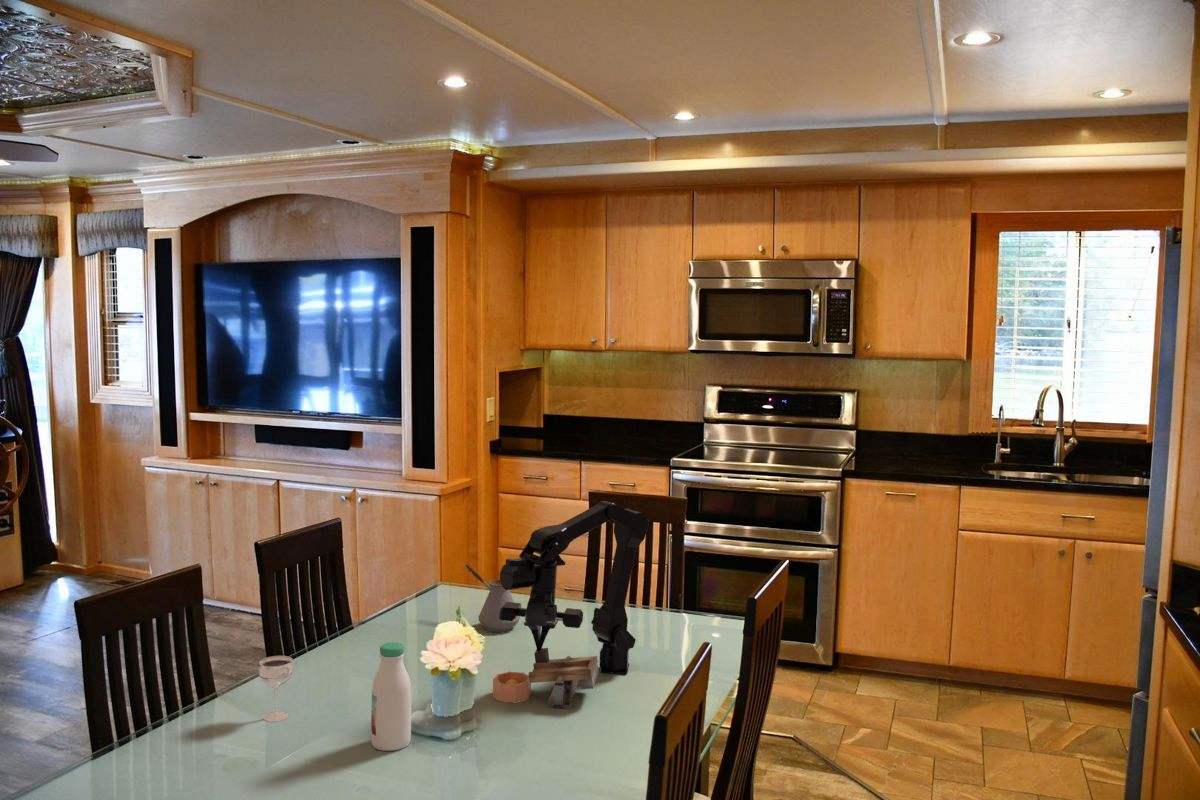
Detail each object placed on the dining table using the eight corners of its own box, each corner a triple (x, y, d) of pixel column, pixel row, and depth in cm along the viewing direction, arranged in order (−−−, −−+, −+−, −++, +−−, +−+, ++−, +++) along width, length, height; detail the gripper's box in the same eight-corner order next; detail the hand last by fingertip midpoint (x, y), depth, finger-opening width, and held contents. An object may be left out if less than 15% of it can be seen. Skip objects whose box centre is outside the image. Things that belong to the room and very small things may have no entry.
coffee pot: (528, 628, 255) (529, 575, 254) (496, 637, 247) (497, 582, 246) (480, 610, 270) (480, 560, 269) (448, 618, 262) (449, 567, 261)
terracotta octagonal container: (532, 689, 211) (533, 672, 211) (525, 703, 203) (526, 686, 203) (498, 687, 212) (498, 670, 212) (490, 701, 204) (490, 683, 204)
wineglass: (261, 725, 189) (261, 669, 188) (256, 713, 195) (256, 658, 194) (295, 720, 192) (295, 664, 191) (290, 708, 198) (290, 653, 197)
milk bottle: (418, 738, 185) (419, 641, 183) (397, 754, 178) (398, 654, 176) (385, 732, 187) (385, 636, 186) (363, 748, 180) (363, 648, 179)
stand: (578, 683, 216) (579, 662, 216) (569, 709, 201) (569, 686, 201) (558, 681, 217) (558, 660, 216) (547, 707, 202) (547, 684, 201)
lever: (599, 668, 215) (596, 641, 214) (592, 692, 201) (588, 662, 200) (541, 672, 216) (537, 645, 216) (529, 696, 202) (526, 667, 202)
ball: (505, 687, 210) (518, 692, 209) (502, 693, 206) (515, 698, 206) (509, 675, 209) (522, 679, 209) (506, 680, 206) (519, 685, 206)
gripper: (495, 590, 204) (491, 658, 205) (578, 598, 202) (573, 667, 203) (506, 577, 215) (502, 642, 216) (585, 585, 213) (580, 650, 214)
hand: (539, 650), depth 212 cm, fingers closed, pressing on lever
